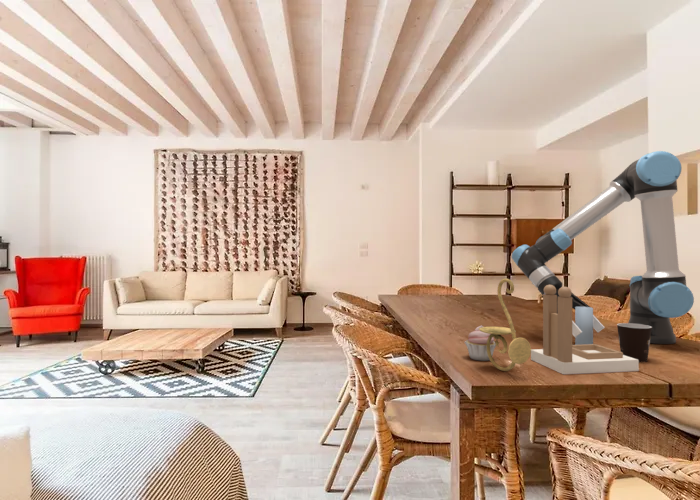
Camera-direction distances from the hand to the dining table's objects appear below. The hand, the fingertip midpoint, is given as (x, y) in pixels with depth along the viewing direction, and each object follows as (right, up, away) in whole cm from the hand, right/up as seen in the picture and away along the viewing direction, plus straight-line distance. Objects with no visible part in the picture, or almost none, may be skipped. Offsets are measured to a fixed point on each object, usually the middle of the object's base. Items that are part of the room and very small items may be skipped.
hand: (590, 332), depth 134 cm
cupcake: (-37, -7, -7) cm, 38 cm away
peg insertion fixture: (-11, -6, -15) cm, 19 cm away
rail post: (-1, -6, +2) cm, 7 cm away
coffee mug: (+9, -7, -8) cm, 14 cm away
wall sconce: (-35, -7, -20) cm, 41 cm away
